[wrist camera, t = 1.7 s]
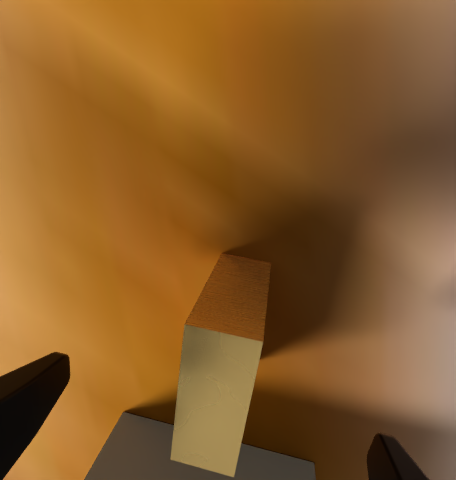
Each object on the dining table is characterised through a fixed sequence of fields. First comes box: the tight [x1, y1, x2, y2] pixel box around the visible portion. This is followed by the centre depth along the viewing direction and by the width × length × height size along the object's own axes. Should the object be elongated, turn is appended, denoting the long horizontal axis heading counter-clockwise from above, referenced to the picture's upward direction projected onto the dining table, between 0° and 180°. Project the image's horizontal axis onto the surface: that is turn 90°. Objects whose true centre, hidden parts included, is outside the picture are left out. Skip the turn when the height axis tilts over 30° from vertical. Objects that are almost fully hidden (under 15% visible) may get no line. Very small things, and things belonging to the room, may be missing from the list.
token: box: [170, 253, 271, 477], centre depth 11 cm, size 2×5×5 cm, turn 172°
